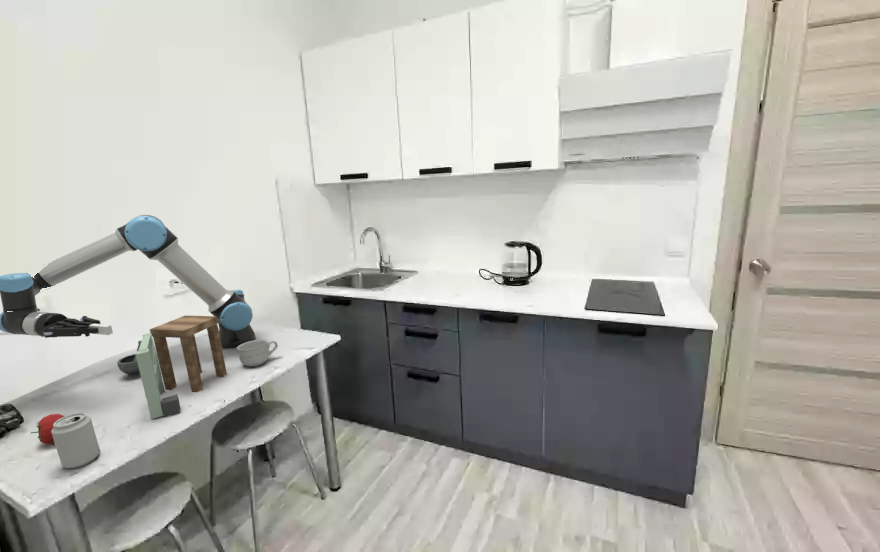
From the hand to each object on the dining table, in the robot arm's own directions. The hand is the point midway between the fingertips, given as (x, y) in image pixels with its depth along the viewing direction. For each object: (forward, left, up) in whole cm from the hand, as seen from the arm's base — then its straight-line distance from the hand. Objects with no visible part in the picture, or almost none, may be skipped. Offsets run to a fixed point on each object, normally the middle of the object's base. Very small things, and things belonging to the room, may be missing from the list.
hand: (109, 330), depth 125 cm
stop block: (-2, +19, -25) cm, 32 cm away
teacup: (-37, +17, -26) cm, 48 cm away
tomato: (+20, +1, -26) cm, 32 cm away
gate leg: (-3, +10, -25) cm, 27 cm away
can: (+22, +19, -26) cm, 38 cm away
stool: (-18, +7, -25) cm, 32 cm away
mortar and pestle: (-15, -21, -26) cm, 37 cm away
